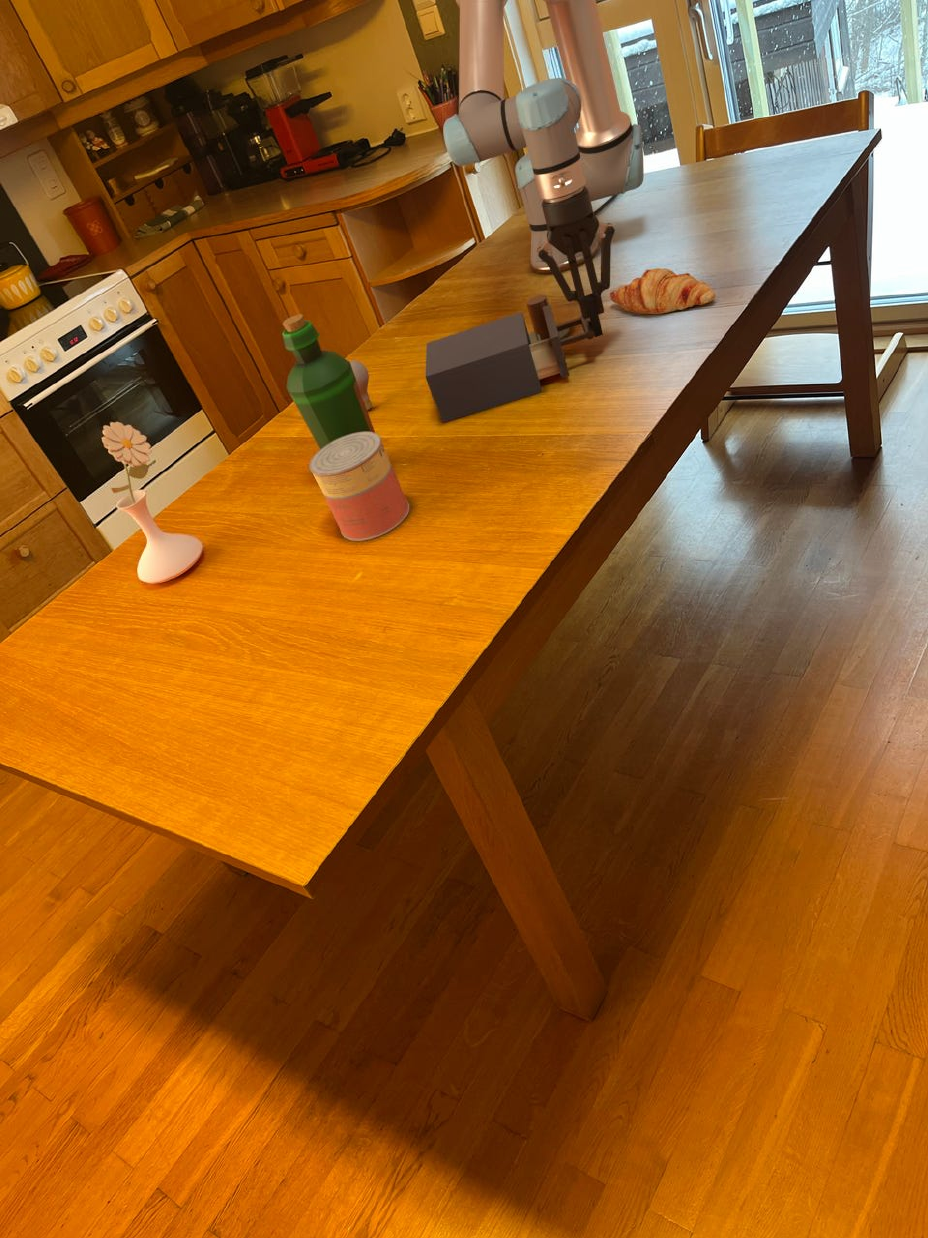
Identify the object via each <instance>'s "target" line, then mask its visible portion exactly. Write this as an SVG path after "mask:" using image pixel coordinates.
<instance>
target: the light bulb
mask: <svg viewBox="0 0 928 1238" xmlns="http://www.w3.org/2000/svg"><path fill="white" fill-rule="evenodd" d="M348 361H349V362H350V364H351V367H352V370H353V372H354V375H355V378H356V381H357V384H358V386H359V389H360V392H361V395H362V397H363V400H364V403H365V406H366V408H367V411H368V412H369V411H371V409H372V408H373V404H372V402H371V399H370V398H371V397H370V395H369V392H368V388H369V380H370V374H369V371H368V368H367V367H366V366H365V364H364V363H362V362H360V361H358V360H348Z"/></svg>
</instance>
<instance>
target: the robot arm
mask: <svg viewBox="0 0 928 1238" xmlns="http://www.w3.org/2000/svg"><path fill="white" fill-rule="evenodd" d="M508 1H509V0H455V2H456V4H457V6H458V8H459V58H458V59H459V60H458V61H459V66H458V69H459V70H458V71H459V73H458V78H459V79H458V114H457V113H455V114H454V115H453V116H451V117H449V118H446V120H445V121H444V123H443V127H442V130H443V140H444V144H445V148H446V151H447V153H448V156H449V158H450V160H451V161H452V162H453V163H454V164H455V165H456V166H457V167H465V166H469V165H474V164H480V163H481V162H484V161H487V160H488V161H489V160H490V159H493V158H497V157H500V156H502V155H507V154H509V153H512V152H515V151H519V150H522V149H526V150H527V153H526V154H524V155H523V156H522V157H521V158H519V160H518V161H517V163H516V165H515V167H514V171H515V176H516V181H517V189H518V191H519V193H520V197H521V201H522V205H523V208H524V211H525V215H526V219H527V222H528V225H529V230H530V265H531V270H532V271H533V273H537V274H544V275H546V274H552V275H553V277H554V279H555V281H556V282H557V284H558V286H559V288H560V290H561V292H562V293H563V296H564V297H565V299H566V301H567V302H569V303H570V302H577V303H578V306H579V310H580V315H582V317H583V318H584V319H587V318H589V320H590V322H591V325H592V328H593V331H594V334H595V336H594V338H598V337H600V336H603V335H604V333H603V328H602V324H601V319H600V315H601V314H604V313H605V307H604V303H603V299H602V298H603V297H602V294H603V292H605V291H606V290H609V289H610V288H611V258H612V257H611V252H612V251H611V250H612V249H611V247H612V245H611V244H612V241H613V237H614V234H615V231H616V230H615V228H614V226H613V224H612V223H611V222H607V223H604V222H601V221H599V219H598V217H597V214H598V213H600V212H601V211H602V210H604V209H605V208H606V207H607V206H609V204H610V203H612V201H614V199H616V197H618V195H624V194H625V193H627V192H629V191H633V190H636V189H638V188H640V187H641V186H642V185H643V181H644V175H645V173H644V150H643V149H644V148H643V146H644V145H643V134H642V127H641V125H640V124H639V123H632V119H631V116H630V115H629V114H628V113H626V112H624V111H622V110H621V106H620V102H619V98H618V93H617V88H616V84H615V80H614V75H613V70H612V67H611V64H610V63H611V62H610V59H609V58H610V57H609V53H608V49H607V45H606V40H605V35H604V32H603V28H602V22H601V19H600V14H599V10H598V5H597V1H596V0H543V1H544V2H545V6H546V9H547V12H548V17H549V21H550V24H551V28H552V30H553V36H554V39H555V43H556V47H557V51H558V55H559V58H560V62H561V66H562V70H563V73H564V77H556V78H555V77H554V78H548V79H544V80H541V81H538V82H535V83H533V84H531V85H529V86H526V87H525V88H523V89H522V90H520V91H519V92H518V94H517V95H514V96H510V97H508V98H505V64H504V63H505V61H504V60H505V59H504V58H505V56H504V55H505V50H504V49H505V48H504V47H505V46H504V45H505V44H504V42H505V41H504V40H505V39H504V37H505V35H504V34H505V32H504V28H505V27H504V26H505V25H504V19H505V18H504V14H505V13H504V11H505V9H504V8H505V7H506V5H507V3H508ZM576 126H578V127H577V129H576V130H575V128H576ZM607 198H608V199H607ZM603 199H607V200H606V201H605V202H604V203H603V204H602V205H601V206H599V207H598V208H597V209H595V210H594V208H593V205H592V202H595V201H598V200H603ZM597 233H598V235H599V237H600V238H601V239H600V246H599V240H598V239H597V237H596V235H597ZM599 251H600V281H598V277H597V272H596V268H595V264H594V260H593V257H595V256H596V255H597V254H598V253H599ZM582 264H584V265H585V269H586V273H587V277H588V278H587V279H588V282H589V287H590V290H591V293H588V294H585V291H584V286H583V283H582V279H581V274H580V271H579V266H580V265H582ZM567 270H569V272H570V276H571V278H572V283H573V286H574V290H572V289H571V287H570V286H569V283H568V282H567V280H566V278H565V275H563V271H567Z"/></svg>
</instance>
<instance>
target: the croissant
mask: <svg viewBox="0 0 928 1238" xmlns="http://www.w3.org/2000/svg"><path fill="white" fill-rule="evenodd" d="M609 298H610V300H611V301H612V302H613V304H617V305H618V306H620V307H621V308H622V309H623V310H625V312H629V313H631V312H632V313H635V314H640V315H661V314H662V315H663V314H666V313H671V312H675V311H678V310H680V311H681V310H685V309H687V308H692V307H693V306H695V305H697V306H702V305H706V304H708V303H710V302H712V301H713V300H714V299H715V298H716V291H715V290H714V289H713V288H712V287H711V286H710V285H708V283H706V282H704V281H699V280H698V279H697V278H696V277H694V276H692V275H691V274H690V273H689V272H685V273H681V274H680V273H679V274H676V273H675V272H674V271H673V270H671V269H668V268H663V267H662V268H658V267H657V268H652V269H646V270H645V271H644V272H643V273H642V275H641V276H640V277H636V278H633V280H632V281H631V282H630V284H624V285H621V286H620V287H618V289H614V290H612V291H610V292H609Z"/></svg>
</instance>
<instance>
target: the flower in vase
mask: <svg viewBox="0 0 928 1238" xmlns="http://www.w3.org/2000/svg"><path fill="white" fill-rule="evenodd" d="M102 434H103V436H102V437H101V441H102V443H103V447H104V448H105V449H107V450H108V451H107V452H108V453H109V454H110V455H112V456H113V457H114V460H115V461H116V462H119V463H120V462H121V463H122V464H123V466H124V467H123V468H124V469H125V470H124V471H125V474H126V478H127V484H126V485H123V486H120V487H111V489H110V490H111V492H112V493H113V494H118V493H120V492H124V491H127V490H129V493H127V494H126V495H124V496H122V497H121V498H120V499H119V500H118V501H117V502H116V505H115V508H116V509H118V510H121V511H123V512H125V513H127V514H128V515H129V516H130V517H131V518H133V520H134V521H135V522H136V524H138V525H139V527H140V528H141V530H142V532H143V533H144V535H145V537H146V545H145V548H144V550H143V551H142V553H141V557H140V558H139V561H138V564H137V577H138V579H139V581H142V582H145V583H147V584H151V585H152V584H161V583H164V582H168V581H170V580H173V579H175V578H177V577H179V576H181V575H182V574H184V573H185V572H187V571H189V569H191V568H192V567H193V566H194V565H195V564H196V563H197V562H198V561H199V559H200V558H201V556H202V553H203V548H204V547H203V543H202V541H201V540H200V539H199V538H197V537H196V536H193V535H190V534H183V533H169V532H165V531H163V530H162V529H161V528H160V527H159V526H158V524H157V523H156V522H155V520H154V519H153V517H152V514H151V513H150V510H149V509H148V506H147V505H148V504H147V499H146V498H147V491H146V490H145V489H137V490H136V489H135V490H134V491H133V490H132V489H133V488H132V483H131V478H133V479H139V480H142V479H144V478H145V477H146V475H147V474H148V472H149V466H150V465H148V464H147V462H148V463H149V462H150V461H151V459H150V456H149V455H150V454H152V449H150V448H151V447H152V446H151V444H150V443H149V442H147V439H148V438H147V436H145V435H144V434H142V433H141V431H140V430H139V429H138V430H137V429H135V428H134V427H133V426H132V425H131V424H126V425H125V424H123V423H122V422H119V421H115V422H113V421H110V422H109V425H107V424H105V425H103V429H102ZM148 454H149V455H148ZM127 465H128V466H129V470H128V466H127ZM130 477H131V478H130Z"/></svg>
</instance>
